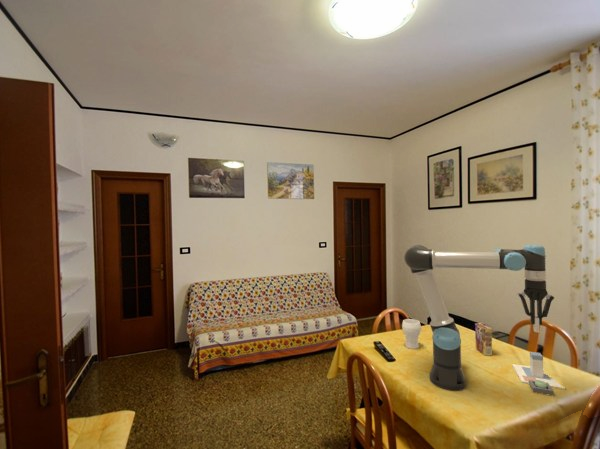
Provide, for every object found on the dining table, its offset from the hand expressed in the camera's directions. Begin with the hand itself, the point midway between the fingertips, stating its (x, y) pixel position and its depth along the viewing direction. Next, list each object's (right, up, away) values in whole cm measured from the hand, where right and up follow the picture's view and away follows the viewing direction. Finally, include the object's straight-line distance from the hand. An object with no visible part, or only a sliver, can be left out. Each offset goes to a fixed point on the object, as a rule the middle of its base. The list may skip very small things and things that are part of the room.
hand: (536, 331), depth 132 cm
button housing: (-1, -24, -4) cm, 25 cm away
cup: (-39, -26, +45) cm, 65 cm away
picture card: (+6, -24, +7) cm, 26 cm away
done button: (-1, -24, -4) cm, 24 cm away
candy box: (-2, -25, +34) cm, 42 cm away
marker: (+6, -24, +7) cm, 25 cm away
